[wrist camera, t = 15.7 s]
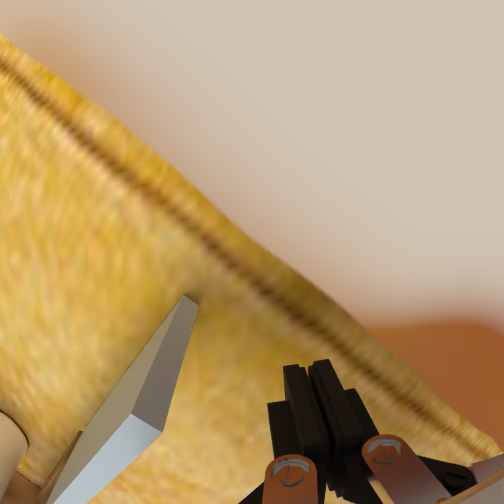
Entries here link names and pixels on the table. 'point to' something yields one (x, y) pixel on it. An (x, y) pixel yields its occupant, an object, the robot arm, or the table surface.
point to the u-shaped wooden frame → (28, 494)
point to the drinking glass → (10, 451)
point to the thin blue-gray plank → (129, 412)
